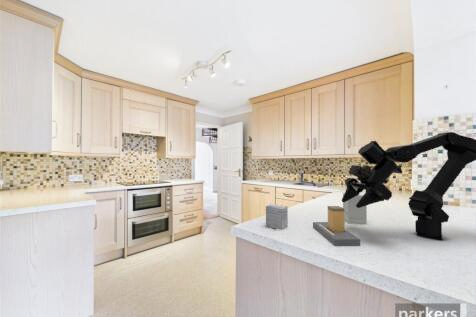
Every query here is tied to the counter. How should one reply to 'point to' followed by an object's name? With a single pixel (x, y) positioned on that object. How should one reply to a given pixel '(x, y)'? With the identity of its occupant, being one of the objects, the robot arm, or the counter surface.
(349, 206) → the supplement box
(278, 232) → the counter surface
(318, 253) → the counter surface
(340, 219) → the plug
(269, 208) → the medicine box
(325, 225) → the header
